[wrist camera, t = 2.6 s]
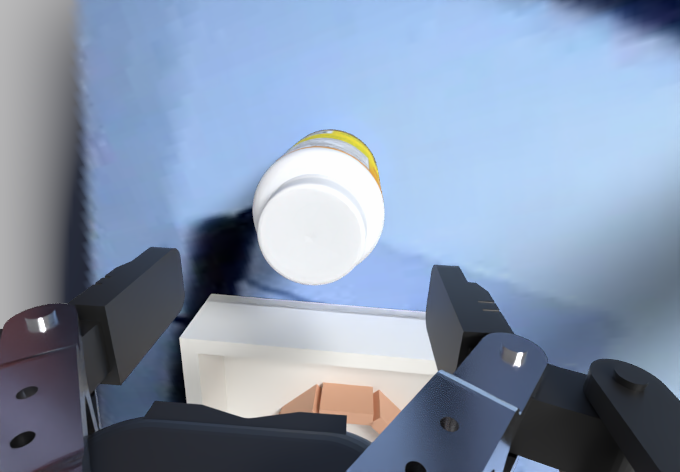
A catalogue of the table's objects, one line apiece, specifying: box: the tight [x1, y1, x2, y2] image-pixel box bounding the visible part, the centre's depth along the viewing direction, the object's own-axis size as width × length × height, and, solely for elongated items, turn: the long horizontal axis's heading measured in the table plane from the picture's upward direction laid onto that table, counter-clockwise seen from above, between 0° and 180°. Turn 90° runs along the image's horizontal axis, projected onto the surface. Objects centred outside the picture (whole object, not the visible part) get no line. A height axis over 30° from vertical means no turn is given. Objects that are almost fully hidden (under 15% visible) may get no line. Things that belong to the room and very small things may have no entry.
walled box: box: [179, 294, 438, 442], centre depth 28 cm, size 22×20×5 cm
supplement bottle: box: [253, 129, 384, 285], centre depth 19 cm, size 6×6×10 cm
